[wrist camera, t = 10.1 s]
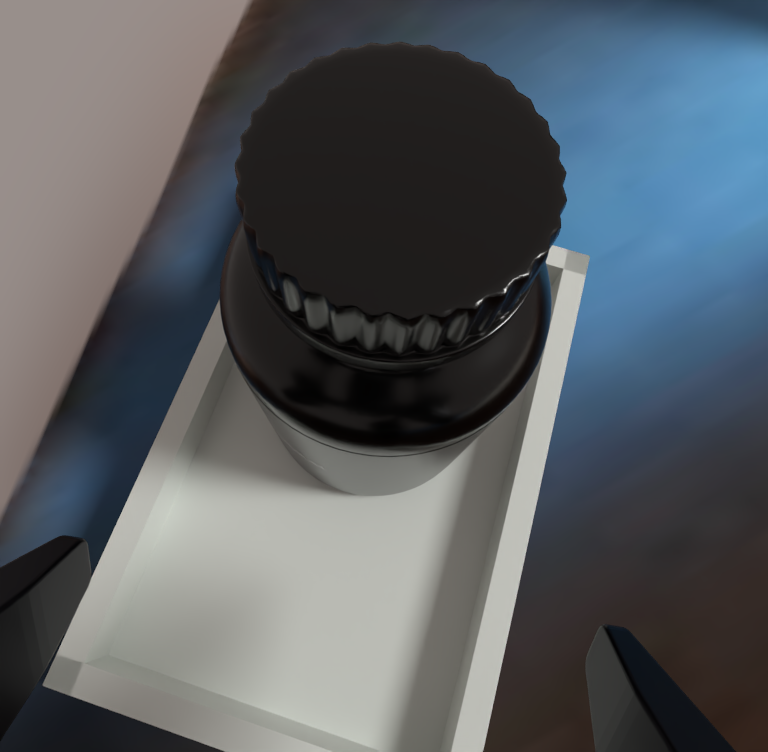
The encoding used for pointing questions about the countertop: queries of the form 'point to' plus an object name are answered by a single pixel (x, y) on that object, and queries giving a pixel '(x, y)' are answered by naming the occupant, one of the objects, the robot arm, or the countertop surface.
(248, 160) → the supplement bottle
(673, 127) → the countertop surface
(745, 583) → the countertop surface
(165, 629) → the tray
